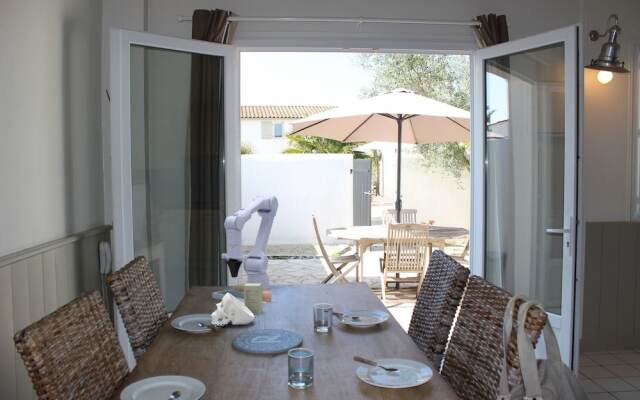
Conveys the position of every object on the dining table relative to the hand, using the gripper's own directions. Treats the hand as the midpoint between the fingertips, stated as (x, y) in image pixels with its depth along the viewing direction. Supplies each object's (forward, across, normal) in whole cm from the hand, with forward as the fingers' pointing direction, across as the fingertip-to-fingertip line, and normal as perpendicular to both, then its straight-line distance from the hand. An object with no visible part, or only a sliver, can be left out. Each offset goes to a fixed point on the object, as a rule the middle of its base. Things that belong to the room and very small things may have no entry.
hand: (234, 277), depth 252 cm
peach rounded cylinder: (+8, +16, +4) cm, 18 cm away
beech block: (+8, -1, +4) cm, 10 cm away
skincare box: (+10, +26, -12) cm, 30 cm away
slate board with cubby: (+10, +6, 0) cm, 12 cm away
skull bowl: (+10, +29, -24) cm, 39 cm away
